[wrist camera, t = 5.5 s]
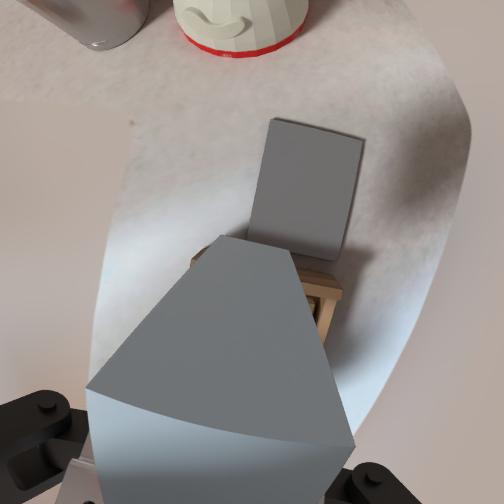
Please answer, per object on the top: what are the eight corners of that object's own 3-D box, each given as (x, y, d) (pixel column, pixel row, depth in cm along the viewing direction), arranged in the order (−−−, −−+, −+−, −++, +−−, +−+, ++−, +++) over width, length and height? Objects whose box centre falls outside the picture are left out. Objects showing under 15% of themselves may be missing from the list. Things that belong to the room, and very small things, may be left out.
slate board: (220, 234, 14) (84, 388, 3) (288, 250, 14) (355, 446, 3) (190, 398, 15) (129, 580, 5) (244, 411, 15) (224, 601, 5)
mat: (270, 120, 28) (270, 118, 28) (360, 142, 28) (362, 141, 28) (245, 241, 31) (245, 242, 30) (335, 260, 31) (336, 261, 30)
